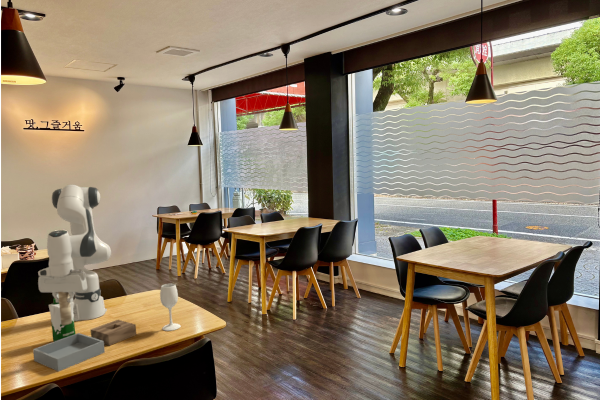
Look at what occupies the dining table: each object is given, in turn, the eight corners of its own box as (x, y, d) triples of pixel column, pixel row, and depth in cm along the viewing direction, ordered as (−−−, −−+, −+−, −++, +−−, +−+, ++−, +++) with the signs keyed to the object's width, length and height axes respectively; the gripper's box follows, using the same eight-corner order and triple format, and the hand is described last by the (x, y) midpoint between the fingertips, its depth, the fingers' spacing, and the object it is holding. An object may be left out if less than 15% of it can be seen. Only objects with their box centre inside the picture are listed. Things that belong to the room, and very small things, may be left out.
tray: (34, 360, 185) (32, 349, 184) (79, 343, 201) (78, 332, 200) (58, 371, 174) (57, 359, 173) (104, 352, 190) (103, 341, 189)
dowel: (59, 325, 184) (55, 292, 183) (65, 321, 188) (62, 289, 187) (67, 325, 183) (64, 292, 182) (74, 321, 187) (71, 289, 186)
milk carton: (68, 336, 210) (64, 295, 209) (79, 339, 206) (75, 297, 204) (50, 343, 203) (45, 300, 201) (61, 346, 198) (56, 303, 196)
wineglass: (158, 328, 215) (155, 286, 213) (174, 323, 221) (171, 282, 219) (168, 332, 209) (164, 289, 207) (184, 326, 215) (181, 284, 214)
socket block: (91, 339, 204) (90, 329, 204) (118, 329, 216) (117, 319, 216) (109, 345, 197) (108, 334, 196) (136, 334, 208) (135, 324, 208)
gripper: (89, 267, 185) (91, 299, 186) (45, 268, 189) (48, 299, 190) (79, 271, 179) (82, 304, 180) (34, 271, 182) (37, 304, 184)
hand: (64, 302), depth 185 cm, fingers closed on dowel, 4 cm apart
